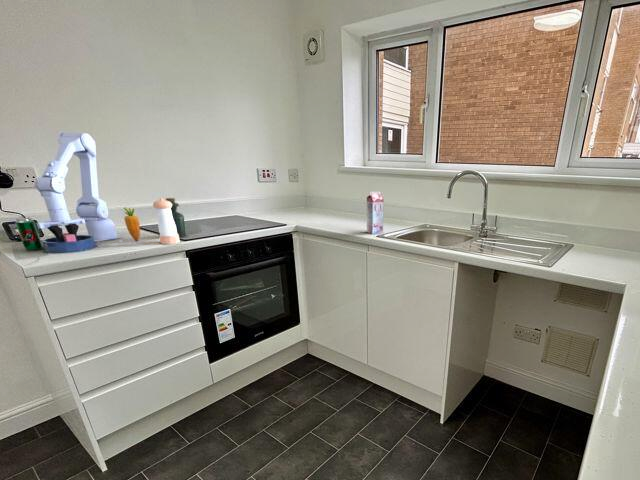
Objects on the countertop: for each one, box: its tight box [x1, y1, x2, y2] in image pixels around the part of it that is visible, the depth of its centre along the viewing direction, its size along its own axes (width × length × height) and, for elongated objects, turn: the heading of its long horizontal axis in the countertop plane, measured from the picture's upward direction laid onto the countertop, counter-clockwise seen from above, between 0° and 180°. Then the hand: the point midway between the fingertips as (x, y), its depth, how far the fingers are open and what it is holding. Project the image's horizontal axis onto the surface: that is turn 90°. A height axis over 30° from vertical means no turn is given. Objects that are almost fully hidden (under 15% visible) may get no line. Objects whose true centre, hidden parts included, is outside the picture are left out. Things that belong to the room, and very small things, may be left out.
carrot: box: [123, 206, 141, 242], centre depth 155 cm, size 5×5×15 cm
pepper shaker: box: [152, 197, 181, 245], centre depth 154 cm, size 7×7×19 cm
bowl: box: [41, 234, 97, 254], centre depth 141 cm, size 15×15×4 cm
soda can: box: [15, 217, 44, 252], centre depth 136 cm, size 5×5×12 cm
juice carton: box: [366, 191, 384, 235], centre depth 193 cm, size 7×7×22 cm
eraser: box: [63, 232, 76, 242], centre depth 141 cm, size 3×6×5 cm, turn 66°
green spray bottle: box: [165, 197, 187, 239], centre depth 166 cm, size 8×8×18 cm
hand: (68, 243), depth 142 cm, fingers closed on eraser, 3 cm apart
